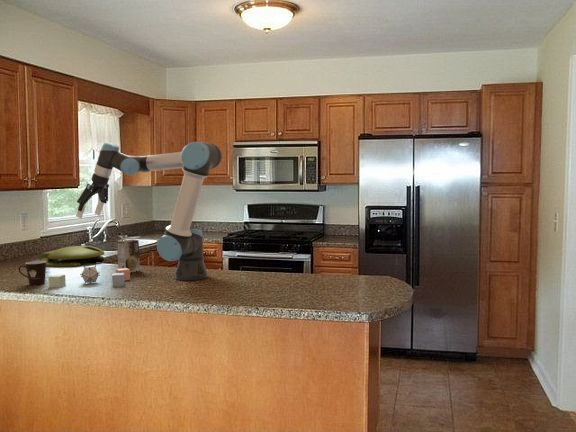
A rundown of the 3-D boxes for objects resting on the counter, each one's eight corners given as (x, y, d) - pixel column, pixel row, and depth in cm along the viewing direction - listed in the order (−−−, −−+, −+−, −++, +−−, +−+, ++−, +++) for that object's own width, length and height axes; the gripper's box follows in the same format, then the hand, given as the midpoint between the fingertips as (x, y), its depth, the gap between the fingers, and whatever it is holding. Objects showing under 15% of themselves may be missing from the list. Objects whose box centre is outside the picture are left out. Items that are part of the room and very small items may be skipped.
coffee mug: (51, 282, 248) (50, 261, 247) (35, 286, 240) (34, 264, 239) (33, 281, 253) (32, 260, 252) (17, 284, 245) (16, 263, 244)
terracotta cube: (126, 278, 256) (126, 267, 256) (130, 279, 252) (129, 269, 252) (116, 279, 253) (115, 269, 253) (119, 281, 249) (118, 270, 249)
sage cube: (65, 285, 241) (65, 274, 241) (59, 287, 236) (59, 276, 236) (55, 285, 242) (54, 274, 242) (49, 287, 237) (48, 276, 237)
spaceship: (28, 267, 297) (27, 250, 296) (61, 259, 327) (60, 243, 327) (87, 268, 291) (86, 250, 291) (114, 259, 322) (113, 243, 321)
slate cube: (124, 283, 243) (123, 272, 243) (124, 285, 238) (123, 274, 238) (112, 284, 241) (112, 273, 241) (112, 286, 237) (112, 275, 236)
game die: (92, 292, 244) (91, 276, 237) (76, 285, 245) (75, 269, 239) (104, 279, 251) (103, 264, 244) (88, 272, 252) (87, 257, 246)
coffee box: (132, 270, 279) (131, 239, 278) (140, 271, 275) (139, 239, 274) (117, 272, 272) (116, 241, 271) (125, 273, 268) (124, 241, 267)
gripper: (111, 170, 263) (98, 210, 268) (77, 171, 239) (64, 215, 244) (123, 177, 262) (110, 216, 266) (91, 178, 238) (77, 221, 242)
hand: (88, 215), depth 255 cm, fingers open, 13 cm apart
